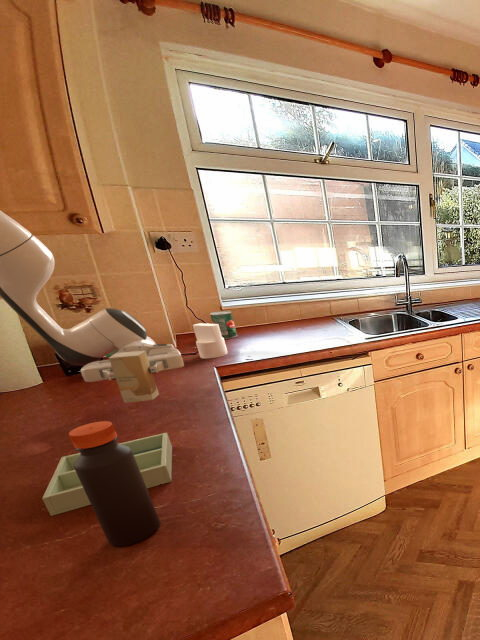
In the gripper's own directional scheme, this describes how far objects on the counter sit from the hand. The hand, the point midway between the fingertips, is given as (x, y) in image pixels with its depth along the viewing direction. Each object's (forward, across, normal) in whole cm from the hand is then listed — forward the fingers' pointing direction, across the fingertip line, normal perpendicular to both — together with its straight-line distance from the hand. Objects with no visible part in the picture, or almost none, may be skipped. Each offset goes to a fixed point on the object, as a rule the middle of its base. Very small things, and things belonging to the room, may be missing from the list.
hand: (133, 373), depth 106 cm
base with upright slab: (-58, +17, +13) cm, 62 cm away
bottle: (+53, 0, +13) cm, 55 cm away
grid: (+29, -4, +13) cm, 32 cm away
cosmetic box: (-1, 0, +7) cm, 7 cm away
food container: (-62, -8, +14) cm, 64 cm away
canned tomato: (-86, +24, +13) cm, 91 cm away
